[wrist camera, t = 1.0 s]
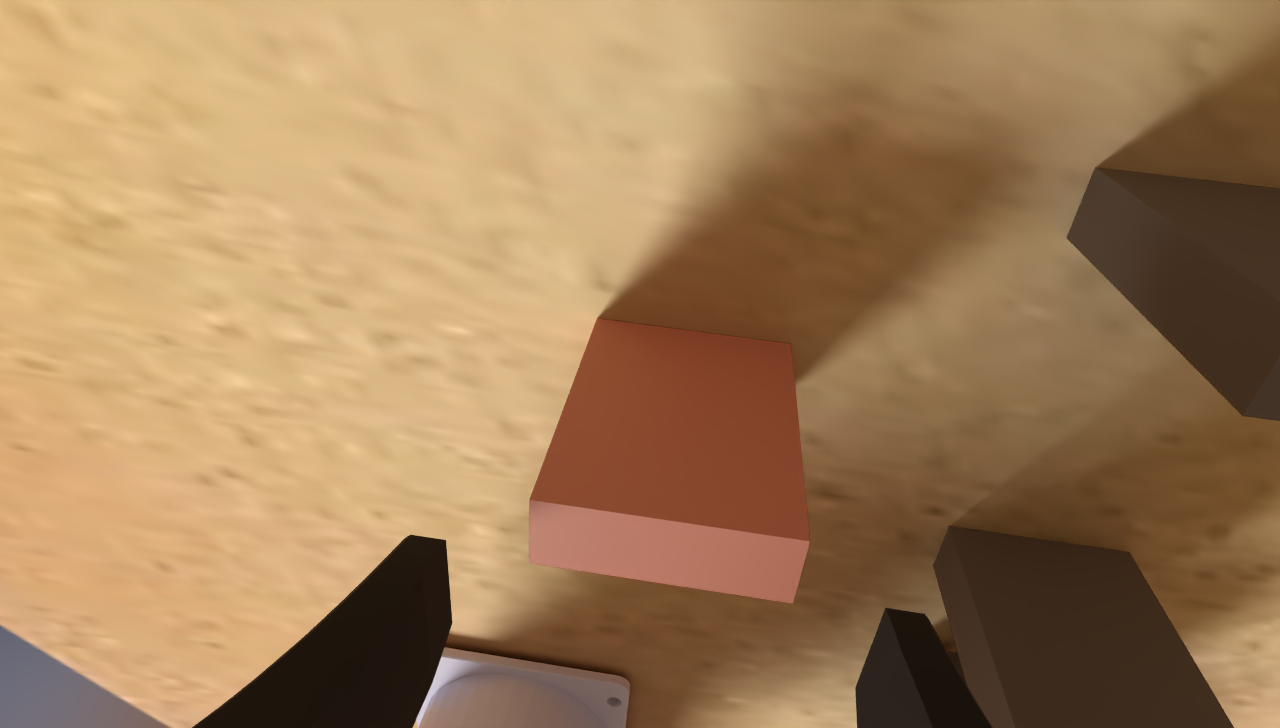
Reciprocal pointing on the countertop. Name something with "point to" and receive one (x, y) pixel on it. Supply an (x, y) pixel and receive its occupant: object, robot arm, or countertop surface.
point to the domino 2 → (1195, 272)
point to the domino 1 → (677, 464)
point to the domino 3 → (1066, 637)
